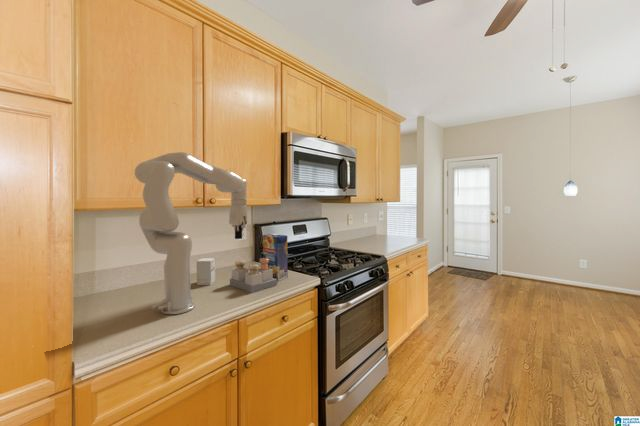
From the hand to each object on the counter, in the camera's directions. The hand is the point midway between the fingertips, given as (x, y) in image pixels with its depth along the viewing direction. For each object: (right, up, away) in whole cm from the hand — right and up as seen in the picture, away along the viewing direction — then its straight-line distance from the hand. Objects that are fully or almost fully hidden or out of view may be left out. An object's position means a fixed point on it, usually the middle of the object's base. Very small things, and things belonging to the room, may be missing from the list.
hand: (238, 238), depth 148 cm
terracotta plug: (+13, -19, +1) cm, 23 cm away
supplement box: (-18, -24, +4) cm, 30 cm away
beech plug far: (0, -21, +2) cm, 21 cm away
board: (+7, -24, +1) cm, 25 cm away
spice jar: (+9, -21, -6) cm, 24 cm away
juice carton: (+17, -24, +14) cm, 32 cm away
